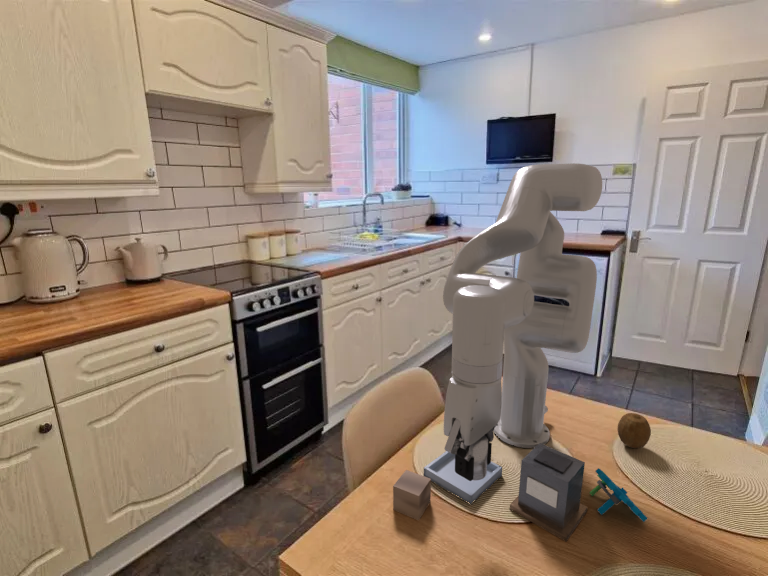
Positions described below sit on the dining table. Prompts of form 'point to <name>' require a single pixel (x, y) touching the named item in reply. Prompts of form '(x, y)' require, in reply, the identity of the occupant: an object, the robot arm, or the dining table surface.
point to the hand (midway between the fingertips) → (473, 467)
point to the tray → (460, 477)
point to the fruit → (634, 430)
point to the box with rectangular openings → (551, 491)
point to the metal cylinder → (479, 457)
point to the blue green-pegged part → (614, 495)
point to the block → (411, 494)
